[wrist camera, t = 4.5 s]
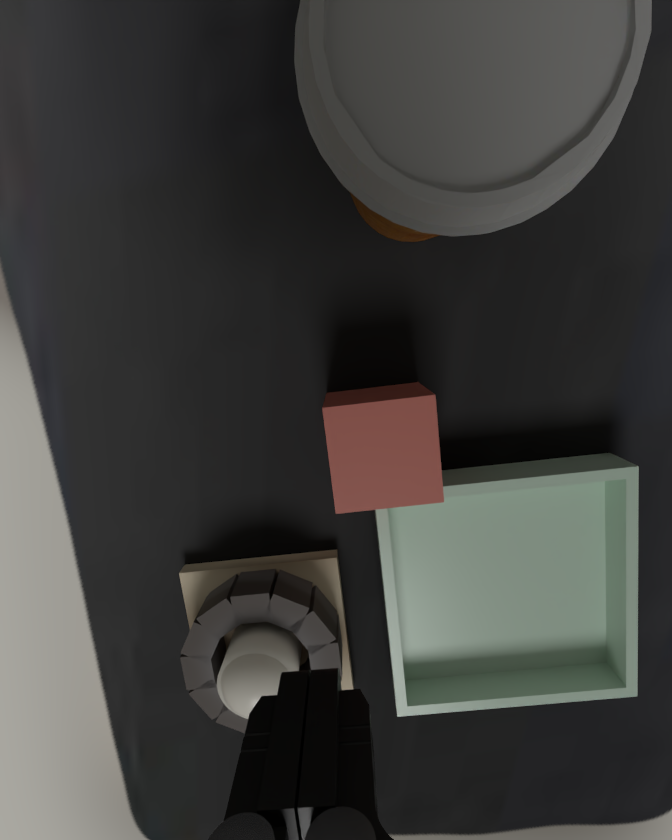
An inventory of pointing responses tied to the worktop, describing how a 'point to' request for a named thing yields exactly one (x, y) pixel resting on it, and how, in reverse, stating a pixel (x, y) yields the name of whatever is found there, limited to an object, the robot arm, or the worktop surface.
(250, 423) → the worktop surface
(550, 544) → the tray
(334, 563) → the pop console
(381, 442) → the cube
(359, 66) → the disposable coffee cup
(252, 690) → the dome
